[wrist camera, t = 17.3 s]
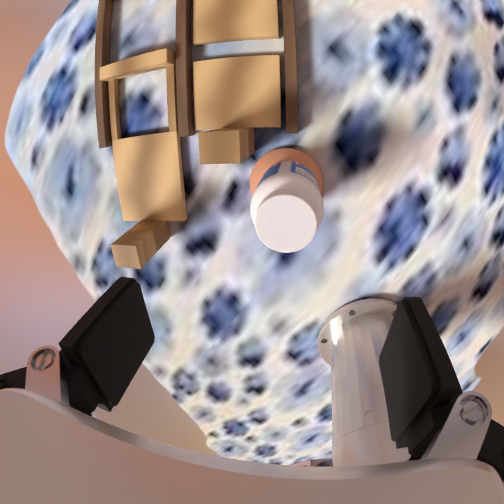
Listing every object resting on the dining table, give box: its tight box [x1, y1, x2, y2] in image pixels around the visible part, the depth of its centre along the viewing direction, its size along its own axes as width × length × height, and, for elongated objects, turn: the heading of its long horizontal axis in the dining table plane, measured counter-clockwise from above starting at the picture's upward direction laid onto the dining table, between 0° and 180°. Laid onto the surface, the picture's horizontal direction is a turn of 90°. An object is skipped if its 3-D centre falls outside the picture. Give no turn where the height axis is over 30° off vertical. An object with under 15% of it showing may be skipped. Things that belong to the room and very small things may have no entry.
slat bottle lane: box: [100, 48, 187, 269], centre depth 24 cm, size 8×20×7 cm, turn 2°
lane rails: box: [95, 0, 298, 148], centre depth 20 cm, size 21×20×2 cm
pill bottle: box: [250, 161, 324, 253], centre depth 22 cm, size 6×5×10 cm
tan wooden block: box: [193, 55, 281, 164], centre depth 20 cm, size 8×9×7 cm
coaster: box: [250, 148, 323, 196], centre depth 26 cm, size 7×7×1 cm
